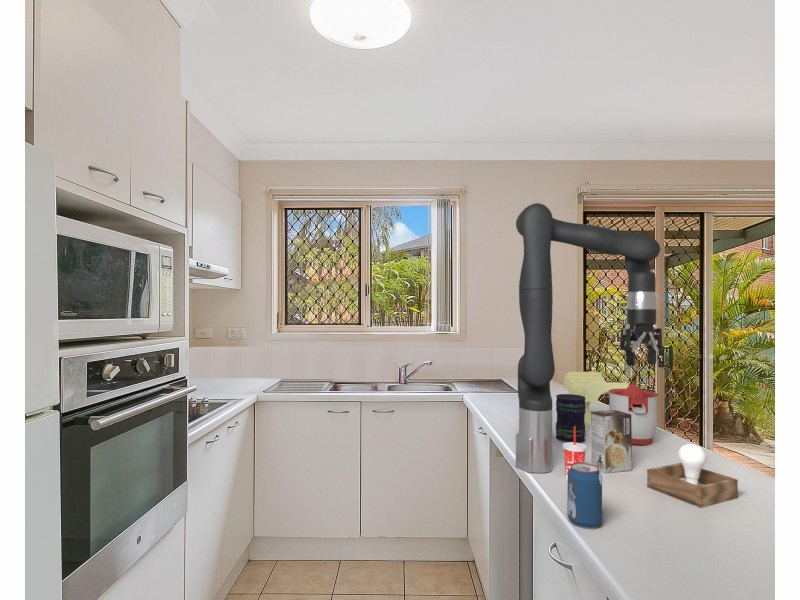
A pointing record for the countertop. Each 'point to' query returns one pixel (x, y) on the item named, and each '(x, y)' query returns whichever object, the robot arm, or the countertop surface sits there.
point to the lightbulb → (692, 461)
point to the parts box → (692, 485)
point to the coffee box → (611, 441)
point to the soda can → (584, 495)
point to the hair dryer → (589, 387)
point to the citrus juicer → (637, 411)
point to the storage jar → (570, 417)
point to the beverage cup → (573, 453)
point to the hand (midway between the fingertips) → (641, 364)
